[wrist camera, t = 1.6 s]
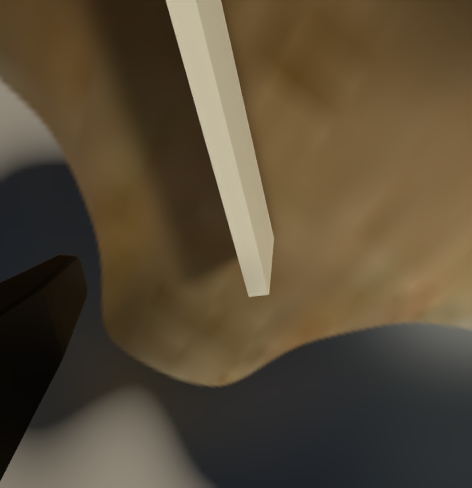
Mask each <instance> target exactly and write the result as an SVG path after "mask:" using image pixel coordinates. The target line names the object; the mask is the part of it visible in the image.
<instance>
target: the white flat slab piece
mask: <svg viewBox="0 0 472 488" xmlns="http://www.w3.org/2000/svg"><path fill="white" fill-rule="evenodd" d="M166 3H167V6H168V10H169V13H170V17H171V21H172V24H173V28H174V31H175V35H176V38H177V42H178V46H179V49H180V53H181V56H182V60H183V63H184V67H185V71H186V74H187V78H188V81H189V85H190V88H191V92H192V96H193V99H194V103H195V106H196V110H197V113H198V117H199V121H200V124H201V128H202V131H203V135H204V138H205V142H206V146H207V149H208V153H209V156H210V160H211V163H212V167H213V170H214V174H215V178H216V181H217V185H218V188H219V192H220V195H221V199H222V203H223V206H224V210H225V213H226V217H227V220H228V224H229V228H230V231H231V235H232V238H233V242H234V245H235V249H236V253H237V256H238V260H239V263H240V267H241V270H242V274H243V278H244V281H245V285H246V288H247V292H248V295H249V297H251V296H260V295H269V289H270V277H271V266H272V255H273V243H274V237H273V232H272V228H271V223H270V219H269V214H268V210H267V205H266V201H265V196H264V192H263V187H262V183H261V178H260V174H259V169H258V165H257V160H256V156H255V151H254V147H253V142H252V138H251V133H250V129H249V124H248V120H247V115H246V111H245V106H244V102H243V97H242V93H241V88H240V84H239V79H238V75H237V70H236V66H235V61H234V57H233V52H232V48H231V43H230V39H229V34H228V30H227V25H226V21H225V16H224V12H223V7H222V3H221V0H166Z"/></svg>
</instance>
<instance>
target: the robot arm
mask: <svg viewBox="0 0 472 488" xmlns="http://www.w3.org/2000/svg"><path fill="white" fill-rule="evenodd" d="M86 297H87V283H86V279H85V274H84V270H83V265H82V262H81V259H80V258H79V257H78V256H73V255H58V256H55V257H53V258H51V259H49V260H47V261H45V262H43V263H41V264H39V265H36V266H34V267H32V268H30V269H28V270H26V271H24V272H22V273H20V274H18V275H16V276H13V277H11V278H9V279H7V280H5V281H3V282H1V283H0V480H1V479H2V477H3V475H4V473H5V471H6V469H7V467H8V465H9V463H10V461H11V459H12V457H13V455H14V453H15V451H16V449H17V447H18V445H19V444H20V442H21V440H22V438H23V436H24V434H25V432H26V430H27V428H28V426H29V424H30V422H31V420H32V418H33V416H34V414H35V412H36V411H37V409H38V406H39V404H40V403H41V401H42V399H43V397H44V395H45V393H46V391H47V389H48V387H49V385H50V383H51V381H52V379H53V377H54V375H55V373H56V372H57V369H58V368H59V366H60V363H61V361H62V359H63V357H64V355H65V352H66V350H67V347H68V345H69V342H70V339H71V337H72V334H73V331H74V329H75V326H76V324H77V321H78V318H79V316H80V313H81V310H82V307H83V305H84V302H85V300H86Z"/></svg>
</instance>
